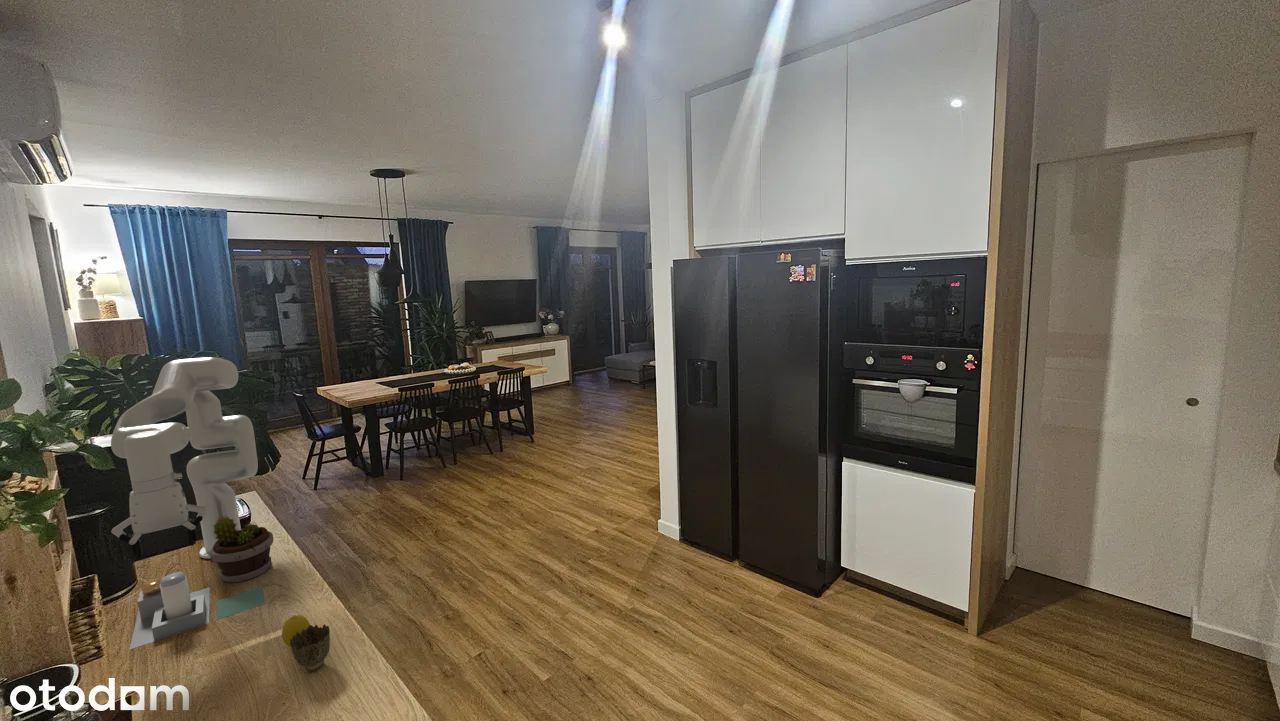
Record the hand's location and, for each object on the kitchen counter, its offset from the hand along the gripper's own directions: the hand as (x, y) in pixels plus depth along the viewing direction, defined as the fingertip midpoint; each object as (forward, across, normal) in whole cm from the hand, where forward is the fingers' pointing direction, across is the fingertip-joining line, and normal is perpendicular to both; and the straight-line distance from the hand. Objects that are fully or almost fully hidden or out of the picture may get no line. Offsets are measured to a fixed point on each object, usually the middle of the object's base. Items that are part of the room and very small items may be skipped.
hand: (167, 550), depth 130 cm
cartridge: (+19, 0, 0) cm, 19 cm away
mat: (+20, -12, 0) cm, 24 cm away
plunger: (+18, +5, -11) cm, 22 cm away
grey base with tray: (+20, +2, -5) cm, 21 cm away
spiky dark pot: (+20, -24, +39) cm, 50 cm away
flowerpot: (+20, -14, -17) cm, 30 cm away
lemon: (+20, -22, +29) cm, 42 cm away
